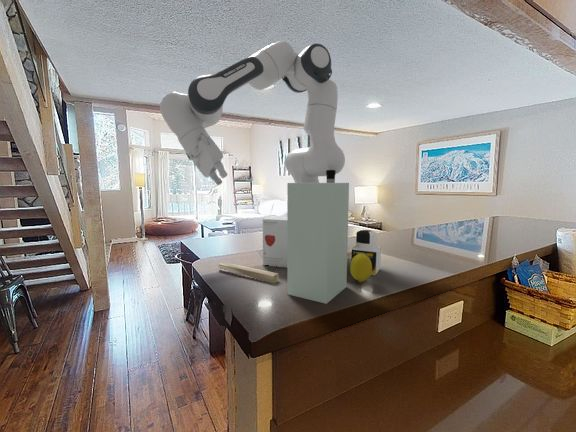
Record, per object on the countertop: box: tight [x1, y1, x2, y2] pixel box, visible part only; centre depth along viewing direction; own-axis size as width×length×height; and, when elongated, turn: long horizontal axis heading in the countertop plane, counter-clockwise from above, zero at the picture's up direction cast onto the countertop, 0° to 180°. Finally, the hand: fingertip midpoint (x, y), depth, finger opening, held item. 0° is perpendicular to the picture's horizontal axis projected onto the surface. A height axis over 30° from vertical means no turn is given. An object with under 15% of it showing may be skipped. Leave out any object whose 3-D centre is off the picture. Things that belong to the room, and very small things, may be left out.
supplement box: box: [262, 215, 287, 269], centre depth 94 cm, size 9×9×15 cm
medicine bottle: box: [351, 229, 382, 276], centre depth 86 cm, size 7×7×12 cm
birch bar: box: [218, 261, 279, 284], centre depth 82 cm, size 2×20×2 cm, turn 57°
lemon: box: [349, 253, 372, 283], centre depth 76 cm, size 6×6×8 cm
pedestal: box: [286, 182, 350, 305], centre depth 69 cm, size 12×10×26 cm
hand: (222, 180), depth 93 cm, fingers open, 8 cm apart
